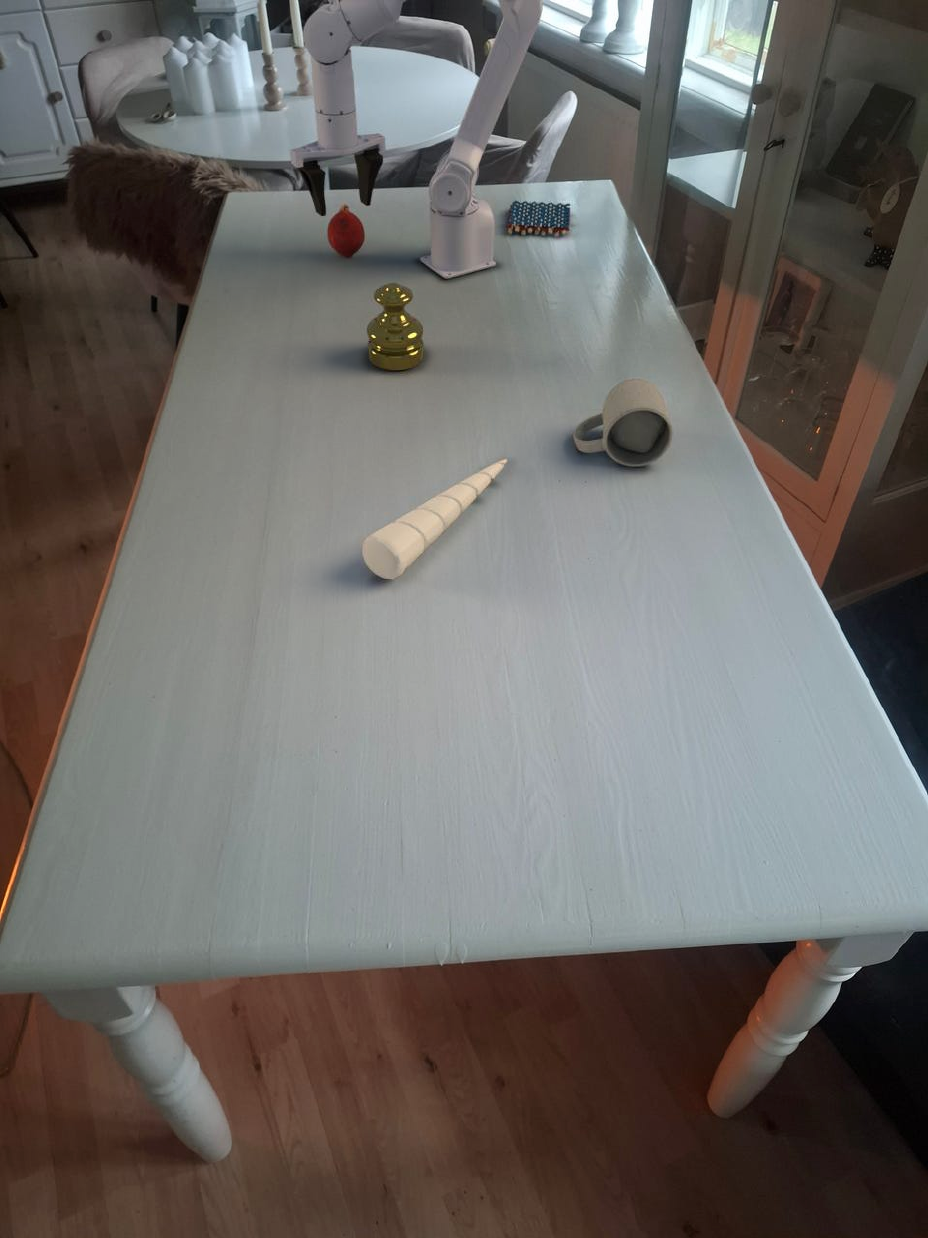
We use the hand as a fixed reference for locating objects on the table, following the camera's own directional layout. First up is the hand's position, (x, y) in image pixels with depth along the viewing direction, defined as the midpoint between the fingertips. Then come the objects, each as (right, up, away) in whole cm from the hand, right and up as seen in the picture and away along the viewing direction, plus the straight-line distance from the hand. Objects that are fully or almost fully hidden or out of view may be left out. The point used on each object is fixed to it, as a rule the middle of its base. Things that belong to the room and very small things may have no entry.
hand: (343, 208), depth 132 cm
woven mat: (+31, +5, +16) cm, 35 cm away
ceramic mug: (+37, -43, -29) cm, 64 cm away
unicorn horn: (+16, -52, -39) cm, 67 cm away
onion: (0, -5, +6) cm, 8 cm away
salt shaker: (+9, -28, -16) cm, 33 cm away
